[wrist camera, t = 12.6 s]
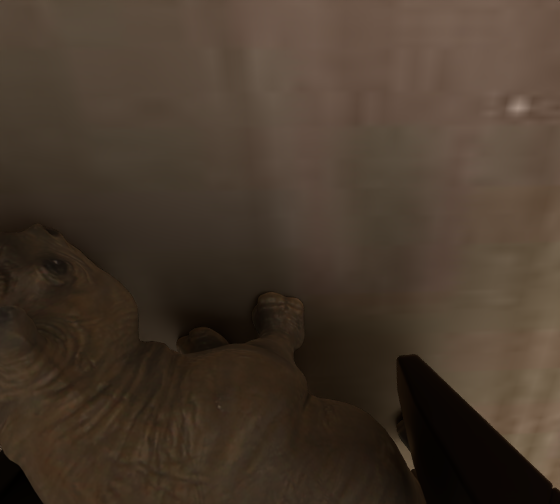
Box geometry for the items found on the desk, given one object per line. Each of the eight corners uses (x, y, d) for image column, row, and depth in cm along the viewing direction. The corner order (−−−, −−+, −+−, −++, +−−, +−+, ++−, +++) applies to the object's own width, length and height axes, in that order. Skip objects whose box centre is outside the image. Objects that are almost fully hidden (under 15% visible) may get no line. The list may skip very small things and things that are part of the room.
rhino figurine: (35, 84, 8) (-447, 195, 3) (471, 414, 12) (611, 710, 7) (-43, 227, 10) (-449, 475, 4) (368, 477, 14) (418, 760, 8)
